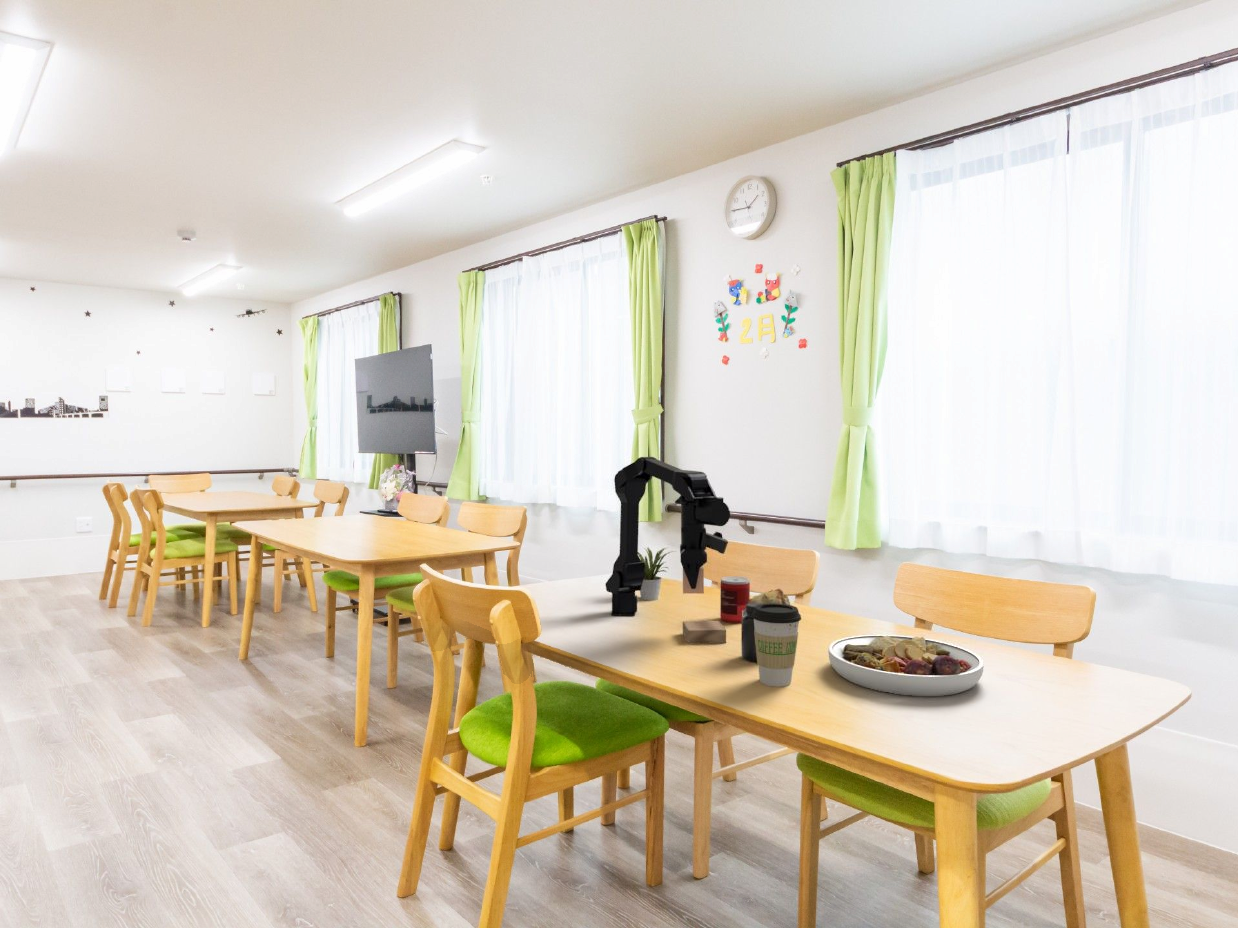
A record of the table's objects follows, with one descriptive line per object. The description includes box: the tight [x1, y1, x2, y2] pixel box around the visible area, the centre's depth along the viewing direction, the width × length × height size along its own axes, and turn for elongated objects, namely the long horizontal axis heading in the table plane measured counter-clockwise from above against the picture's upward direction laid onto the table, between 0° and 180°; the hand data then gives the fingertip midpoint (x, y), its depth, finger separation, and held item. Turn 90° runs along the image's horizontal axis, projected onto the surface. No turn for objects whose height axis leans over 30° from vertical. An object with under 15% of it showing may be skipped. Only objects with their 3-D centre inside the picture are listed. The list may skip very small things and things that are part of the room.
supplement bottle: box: [740, 603, 763, 663], centre depth 174 cm, size 7×7×12 cm
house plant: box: [638, 547, 677, 601], centre depth 235 cm, size 14×14×16 cm
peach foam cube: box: [682, 565, 705, 595], centre depth 193 cm, size 5×5×6 cm
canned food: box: [719, 576, 751, 624], centre depth 209 cm, size 8×8×11 cm
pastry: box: [749, 588, 791, 605], centre depth 213 cm, size 14×12×8 cm
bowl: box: [827, 634, 984, 697], centre depth 162 cm, size 30×30×8 cm
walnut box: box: [682, 620, 727, 645], centre depth 191 cm, size 9×9×4 cm
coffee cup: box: [751, 603, 802, 688], centre depth 158 cm, size 10×10×15 cm
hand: (693, 586), depth 193 cm, fingers closed on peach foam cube, 5 cm apart
